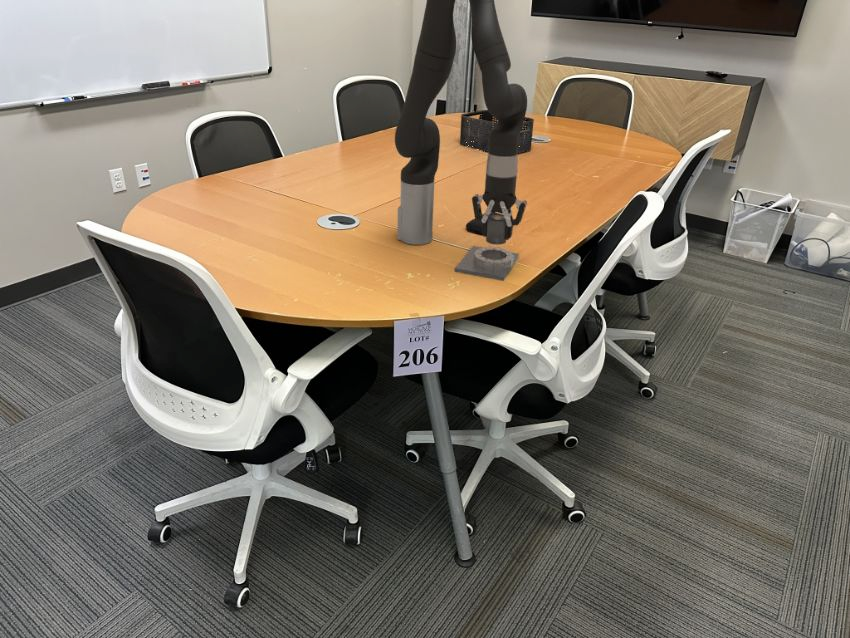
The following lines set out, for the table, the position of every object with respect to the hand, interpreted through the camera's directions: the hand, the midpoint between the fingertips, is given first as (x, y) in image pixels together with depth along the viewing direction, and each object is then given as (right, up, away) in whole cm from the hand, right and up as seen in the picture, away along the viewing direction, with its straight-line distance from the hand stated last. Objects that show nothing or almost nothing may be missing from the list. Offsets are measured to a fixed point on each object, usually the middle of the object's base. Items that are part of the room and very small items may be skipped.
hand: (496, 237), depth 157 cm
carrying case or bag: (+2, +6, +28) cm, 29 cm away
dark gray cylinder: (0, -1, 0) cm, 1 cm away
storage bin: (+12, +54, +113) cm, 126 cm away
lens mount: (-2, -7, +5) cm, 8 cm away
